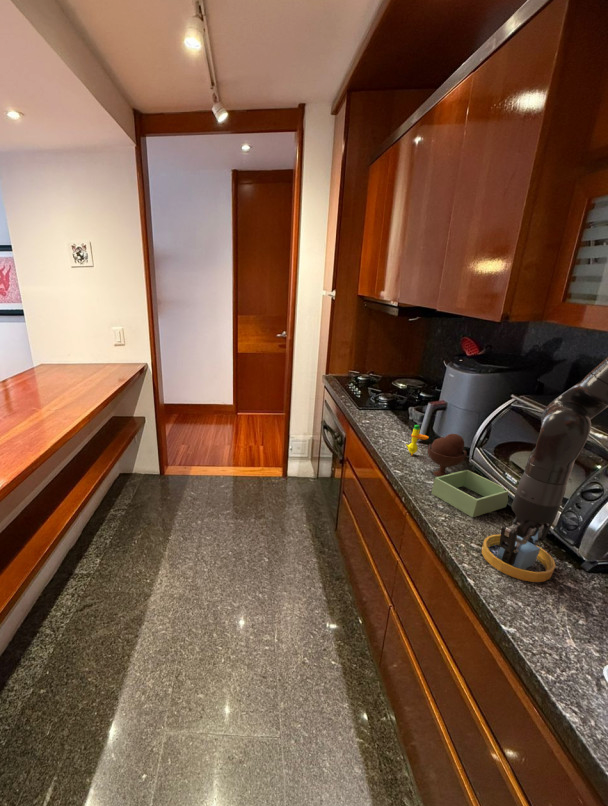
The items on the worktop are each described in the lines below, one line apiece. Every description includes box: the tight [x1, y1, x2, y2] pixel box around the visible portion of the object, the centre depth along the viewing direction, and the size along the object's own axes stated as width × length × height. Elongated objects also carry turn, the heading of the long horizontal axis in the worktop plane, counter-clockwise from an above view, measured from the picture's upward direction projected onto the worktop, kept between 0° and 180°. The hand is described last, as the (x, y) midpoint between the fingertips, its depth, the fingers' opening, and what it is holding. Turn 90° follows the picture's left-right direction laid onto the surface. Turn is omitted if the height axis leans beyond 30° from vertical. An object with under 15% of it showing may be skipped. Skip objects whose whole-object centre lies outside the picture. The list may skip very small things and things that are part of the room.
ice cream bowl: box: [427, 433, 468, 477], centre depth 122 cm, size 11×11×15 cm
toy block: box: [496, 536, 540, 570], centre depth 86 cm, size 5×5×5 cm
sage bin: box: [431, 469, 509, 518], centre depth 110 cm, size 13×13×6 cm
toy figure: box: [405, 424, 429, 456], centre depth 136 cm, size 7×4×12 cm, turn 58°
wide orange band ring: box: [481, 533, 557, 583], centre depth 87 cm, size 13×13×3 cm
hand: (515, 559), depth 87 cm, fingers closed on toy block, 5 cm apart
